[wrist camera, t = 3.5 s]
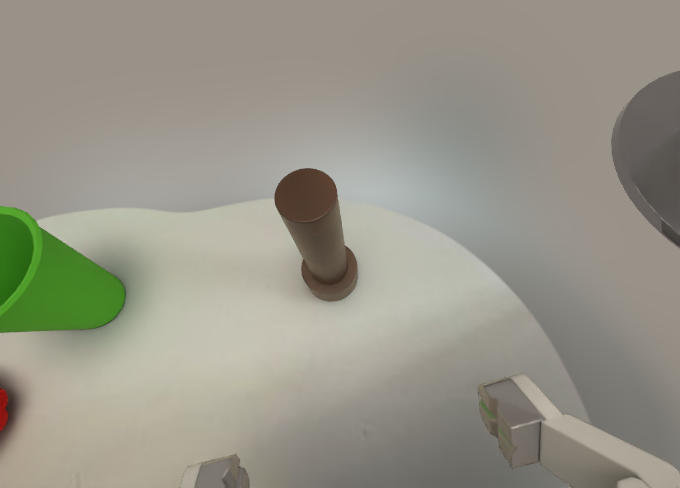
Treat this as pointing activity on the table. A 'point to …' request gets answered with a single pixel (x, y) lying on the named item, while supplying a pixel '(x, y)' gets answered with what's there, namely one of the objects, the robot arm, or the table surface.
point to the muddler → (317, 232)
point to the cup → (50, 281)
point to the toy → (3, 408)
